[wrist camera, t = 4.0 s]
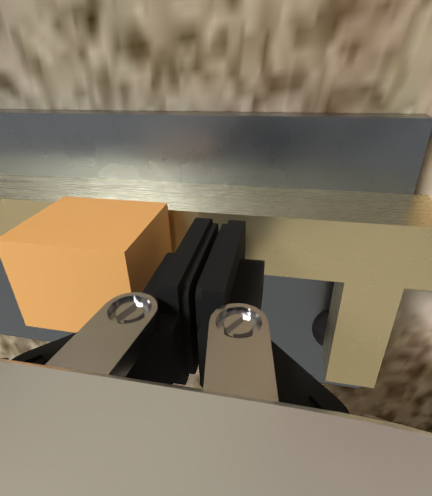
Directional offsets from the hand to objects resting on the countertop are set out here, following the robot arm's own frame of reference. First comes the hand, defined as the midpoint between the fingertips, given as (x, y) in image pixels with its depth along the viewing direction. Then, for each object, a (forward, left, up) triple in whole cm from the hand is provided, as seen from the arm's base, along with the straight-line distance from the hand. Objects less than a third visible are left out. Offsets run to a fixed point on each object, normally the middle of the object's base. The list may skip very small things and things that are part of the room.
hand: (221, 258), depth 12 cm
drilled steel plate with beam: (+6, +3, -5) cm, 8 cm away
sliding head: (+4, +3, -4) cm, 6 cm away
